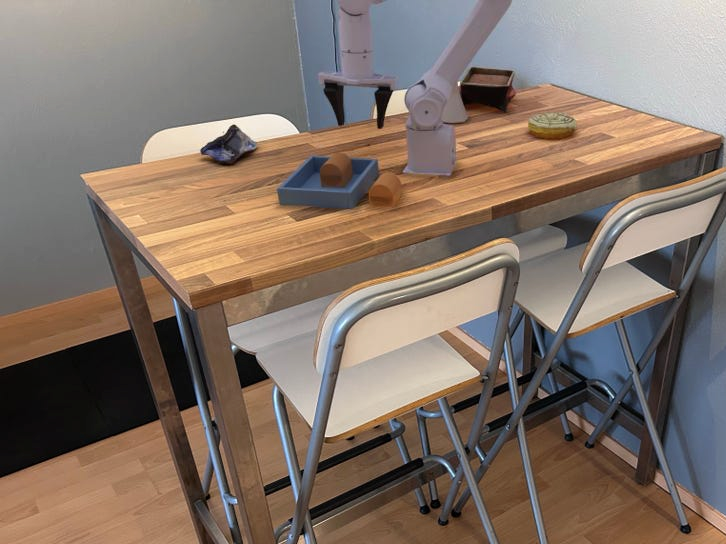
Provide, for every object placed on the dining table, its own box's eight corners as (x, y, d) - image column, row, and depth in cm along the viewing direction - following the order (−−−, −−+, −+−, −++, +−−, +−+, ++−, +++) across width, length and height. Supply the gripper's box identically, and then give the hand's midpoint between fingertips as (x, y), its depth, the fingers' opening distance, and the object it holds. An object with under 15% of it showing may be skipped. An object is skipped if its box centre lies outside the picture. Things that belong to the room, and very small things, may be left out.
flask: (467, 124, 171) (467, 79, 166) (436, 124, 172) (435, 79, 166) (468, 114, 177) (468, 71, 172) (438, 115, 178) (436, 71, 172)
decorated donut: (585, 135, 164) (587, 118, 162) (547, 144, 160) (548, 126, 157) (556, 123, 172) (557, 106, 169) (519, 131, 167) (519, 114, 164)
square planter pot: (521, 106, 190) (520, 64, 186) (508, 115, 174) (507, 69, 170) (467, 107, 193) (465, 66, 189) (449, 116, 178) (446, 71, 173)
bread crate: (379, 176, 144) (377, 158, 142) (353, 212, 130) (350, 192, 128) (312, 173, 146) (310, 155, 144) (279, 207, 132) (276, 188, 130)
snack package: (272, 158, 154) (253, 141, 161) (262, 129, 149) (243, 113, 157) (217, 179, 150) (201, 161, 157) (205, 150, 145) (189, 133, 153)
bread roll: (402, 196, 136) (400, 172, 133) (393, 209, 131) (391, 185, 129) (379, 195, 137) (377, 171, 134) (369, 208, 132) (367, 183, 129)
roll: (353, 176, 143) (350, 153, 140) (343, 187, 138) (341, 164, 136) (331, 175, 144) (328, 151, 141) (321, 186, 139) (318, 162, 136)
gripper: (310, 52, 130) (317, 129, 138) (390, 57, 129) (393, 135, 136) (322, 43, 136) (329, 118, 144) (399, 49, 135) (401, 124, 142)
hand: (360, 125), depth 140 cm, fingers open, 7 cm apart
